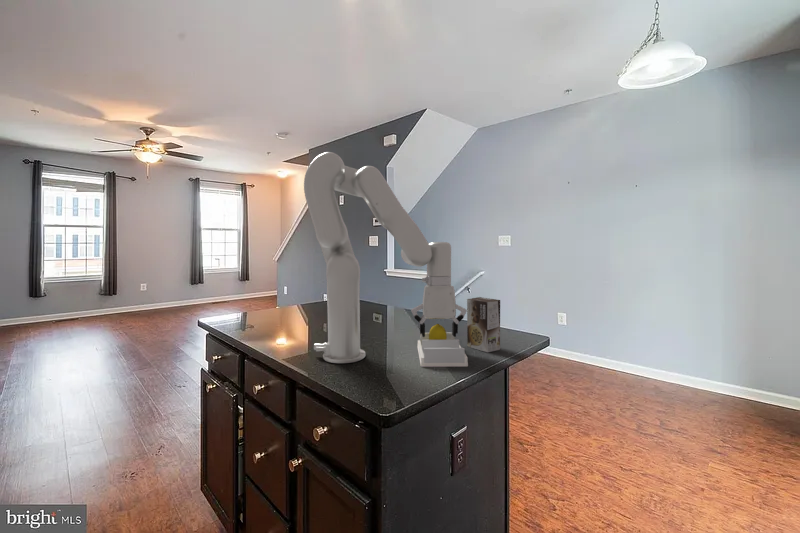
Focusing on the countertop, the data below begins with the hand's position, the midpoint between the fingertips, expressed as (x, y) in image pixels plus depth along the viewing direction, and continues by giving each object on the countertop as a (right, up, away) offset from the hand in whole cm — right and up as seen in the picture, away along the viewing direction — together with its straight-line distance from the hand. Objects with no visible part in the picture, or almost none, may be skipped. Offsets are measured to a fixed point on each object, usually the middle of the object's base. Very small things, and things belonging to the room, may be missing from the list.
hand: (438, 335), depth 113 cm
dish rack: (0, -5, -4) cm, 7 cm away
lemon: (0, -4, 0) cm, 4 cm away
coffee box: (+15, -5, +5) cm, 16 cm away
